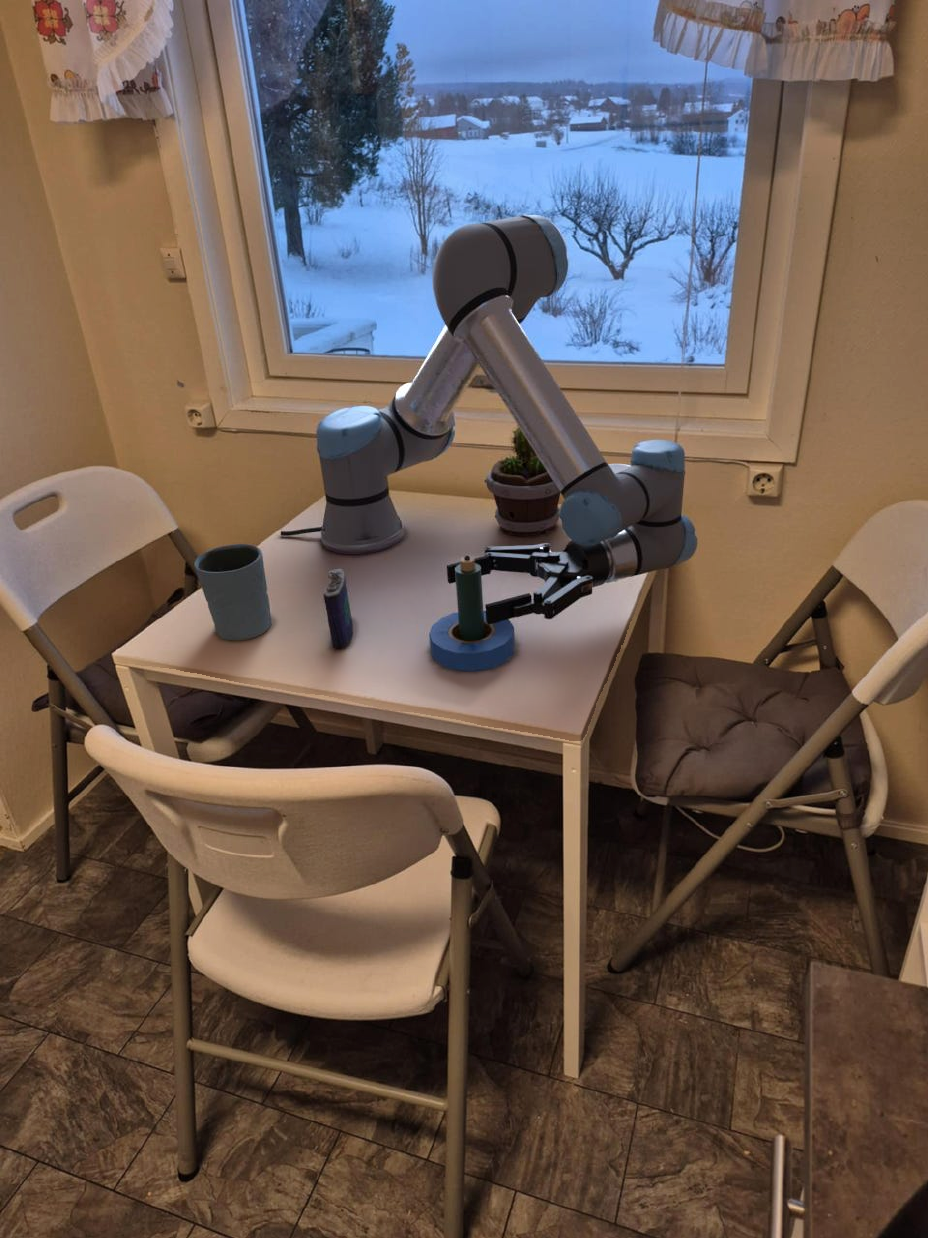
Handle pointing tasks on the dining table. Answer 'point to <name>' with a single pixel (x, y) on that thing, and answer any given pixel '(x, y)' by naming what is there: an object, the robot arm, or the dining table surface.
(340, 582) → the flask
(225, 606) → the blue cup
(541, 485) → the flowerpot
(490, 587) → the dining table surface
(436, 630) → the tape roll
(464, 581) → the green cylinder
